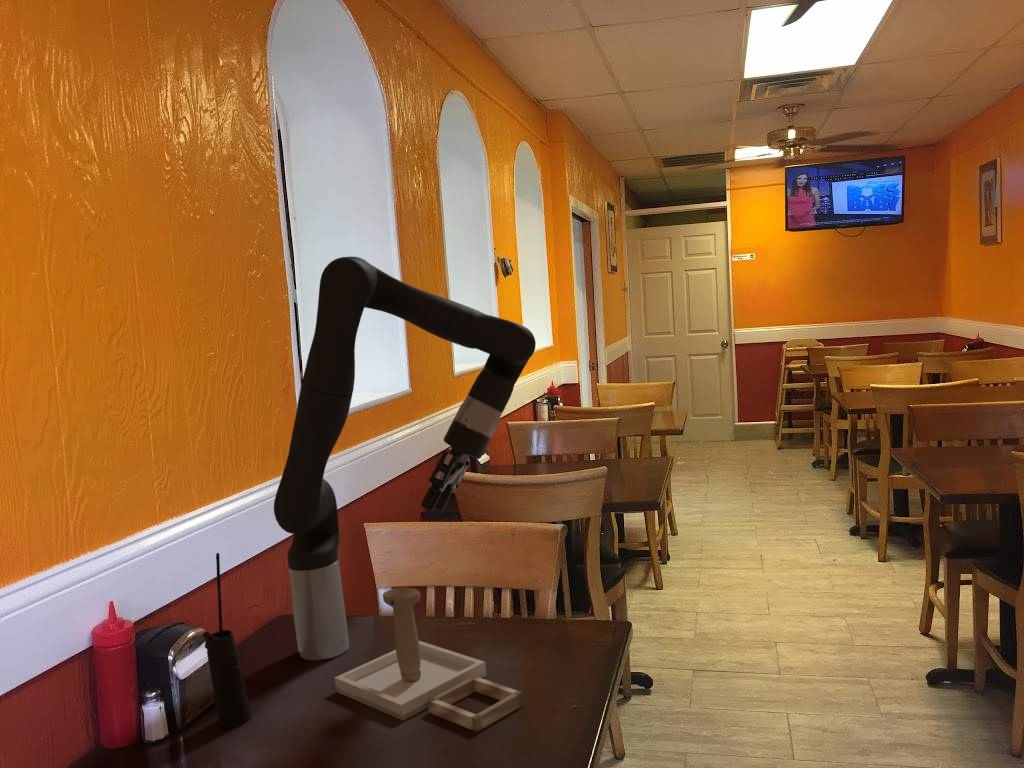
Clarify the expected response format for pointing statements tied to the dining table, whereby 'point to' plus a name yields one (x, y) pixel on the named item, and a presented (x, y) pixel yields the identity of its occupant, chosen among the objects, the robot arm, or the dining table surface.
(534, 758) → the dining table surface
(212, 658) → the butter churn
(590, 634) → the dining table surface
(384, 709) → the tray
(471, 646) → the dining table surface
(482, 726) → the wooden square frame
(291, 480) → the robot arm
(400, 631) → the handle
